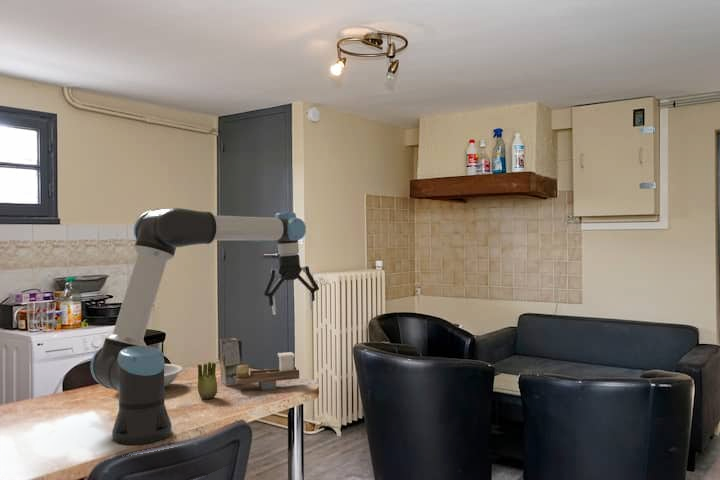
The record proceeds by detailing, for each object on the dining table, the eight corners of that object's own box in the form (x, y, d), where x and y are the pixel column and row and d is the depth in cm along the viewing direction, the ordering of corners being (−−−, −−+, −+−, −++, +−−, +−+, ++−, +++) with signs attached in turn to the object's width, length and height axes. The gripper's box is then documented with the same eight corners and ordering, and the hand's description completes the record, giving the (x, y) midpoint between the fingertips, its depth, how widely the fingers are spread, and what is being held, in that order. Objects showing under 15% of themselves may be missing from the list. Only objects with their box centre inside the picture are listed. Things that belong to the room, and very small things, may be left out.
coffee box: (242, 384, 218) (242, 340, 218) (225, 386, 215) (224, 342, 215) (237, 379, 226) (236, 336, 226) (220, 381, 223) (219, 338, 223)
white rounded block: (295, 374, 213) (295, 354, 212) (280, 375, 211) (280, 355, 211) (291, 371, 218) (291, 352, 218) (277, 372, 216) (277, 353, 216)
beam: (299, 387, 212) (299, 363, 212) (237, 393, 205) (236, 368, 205) (295, 383, 219) (295, 359, 219) (234, 388, 212) (234, 364, 212)
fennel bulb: (196, 400, 197) (196, 363, 197) (202, 396, 202) (201, 360, 202) (214, 400, 197) (213, 363, 197) (218, 396, 202) (218, 360, 202)
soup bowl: (191, 380, 225) (191, 363, 225) (170, 397, 201) (169, 378, 201) (128, 381, 225) (128, 363, 225) (99, 398, 201) (99, 378, 201)
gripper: (319, 251, 225) (323, 306, 226) (253, 256, 217) (257, 314, 219) (324, 252, 218) (328, 309, 219) (255, 258, 210) (260, 317, 211)
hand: (292, 312), depth 219 cm, fingers open, 13 cm apart
